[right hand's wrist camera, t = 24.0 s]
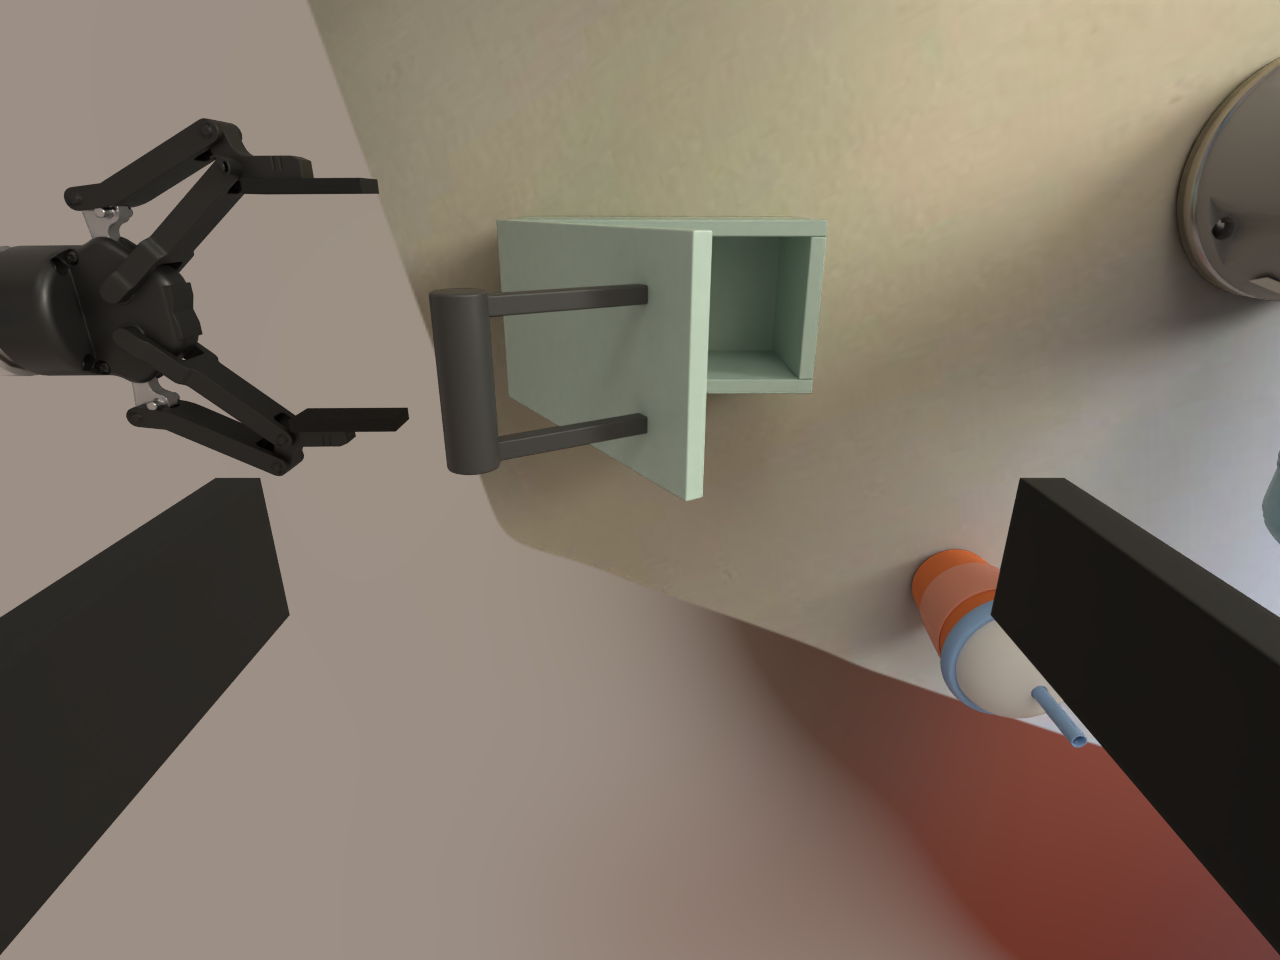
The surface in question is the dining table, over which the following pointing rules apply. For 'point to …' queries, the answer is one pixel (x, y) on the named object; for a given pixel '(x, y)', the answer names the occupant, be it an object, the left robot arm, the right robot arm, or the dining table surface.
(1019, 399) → the dining table surface
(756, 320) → the chest
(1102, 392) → the dining table surface
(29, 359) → the left robot arm
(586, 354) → the lid
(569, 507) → the dining table surface
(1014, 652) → the cup with straw
